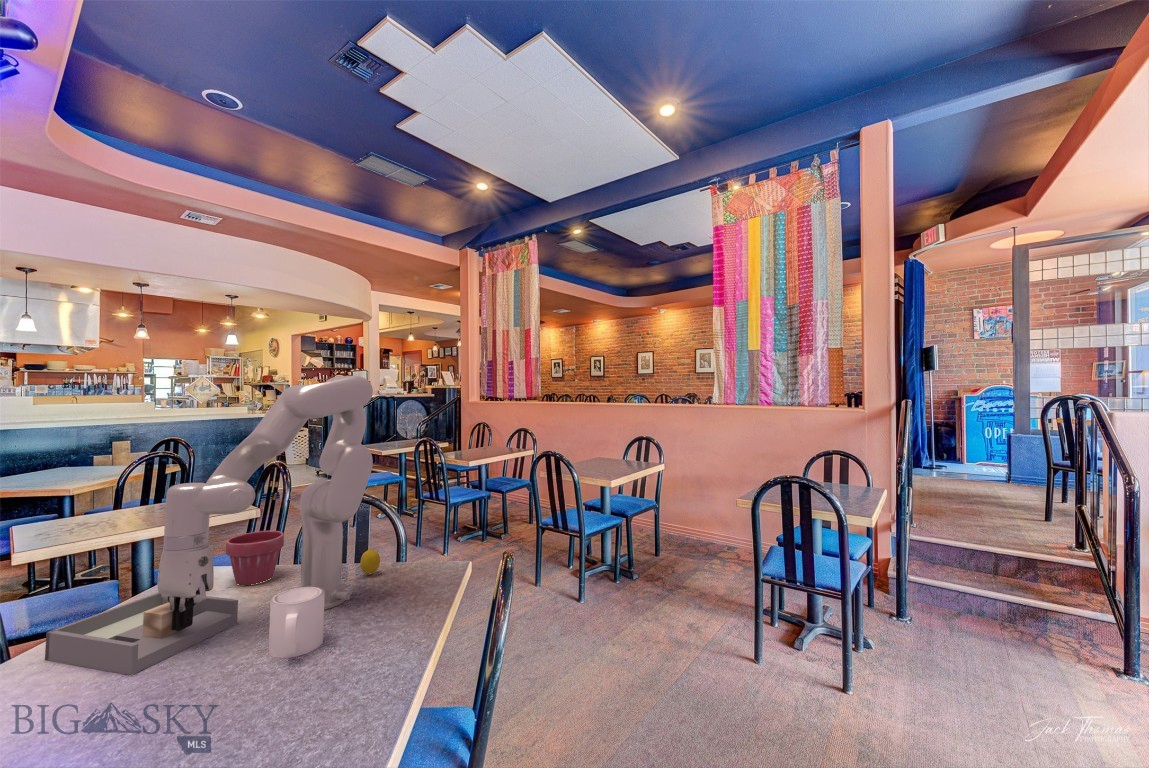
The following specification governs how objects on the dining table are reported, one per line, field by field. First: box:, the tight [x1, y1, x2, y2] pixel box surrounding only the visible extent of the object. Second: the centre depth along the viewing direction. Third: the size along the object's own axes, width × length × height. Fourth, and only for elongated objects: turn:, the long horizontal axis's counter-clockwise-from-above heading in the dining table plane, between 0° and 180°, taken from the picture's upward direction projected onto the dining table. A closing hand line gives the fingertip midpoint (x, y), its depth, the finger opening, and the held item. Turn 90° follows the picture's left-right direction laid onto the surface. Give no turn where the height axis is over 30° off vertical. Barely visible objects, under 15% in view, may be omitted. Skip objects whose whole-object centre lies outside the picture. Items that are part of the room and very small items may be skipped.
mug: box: [268, 586, 325, 659], centre depth 100 cm, size 14×10×11 cm
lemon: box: [359, 548, 381, 575], centre depth 143 cm, size 6×6×8 cm
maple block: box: [143, 603, 177, 639], centre depth 102 cm, size 5×5×5 cm
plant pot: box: [225, 530, 285, 586], centre depth 139 cm, size 14×14×13 cm
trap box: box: [44, 591, 239, 676], centre depth 103 cm, size 23×22×6 cm
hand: (182, 627), depth 101 cm, fingers closed
